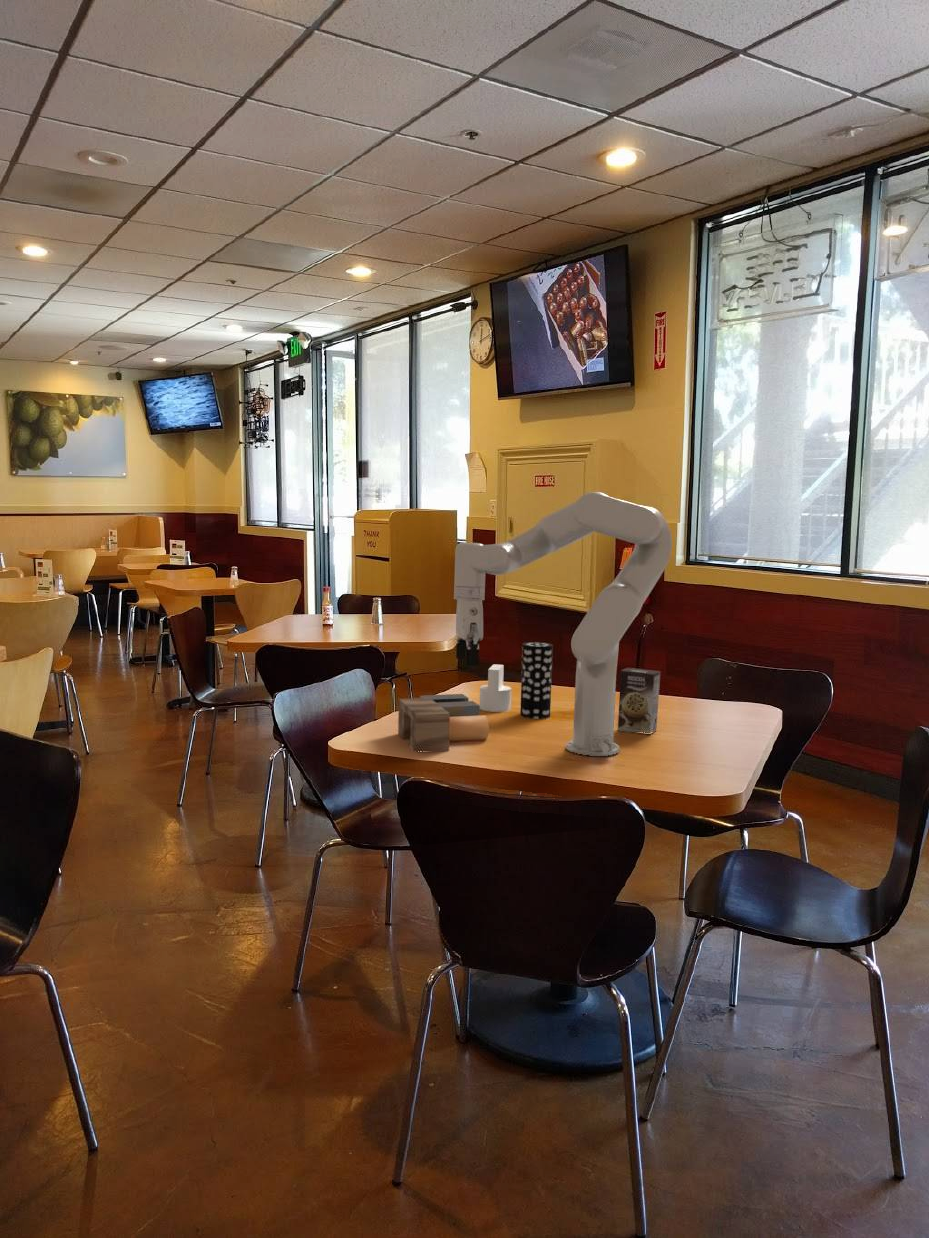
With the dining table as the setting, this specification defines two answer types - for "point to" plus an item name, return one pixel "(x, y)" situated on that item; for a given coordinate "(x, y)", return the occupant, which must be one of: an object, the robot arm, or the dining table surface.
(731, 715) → the dining table surface
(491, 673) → the base with upright slab
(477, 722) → the tan cylinder
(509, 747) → the dining table surface
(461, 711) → the v block
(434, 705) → the beam
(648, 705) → the coffee box
